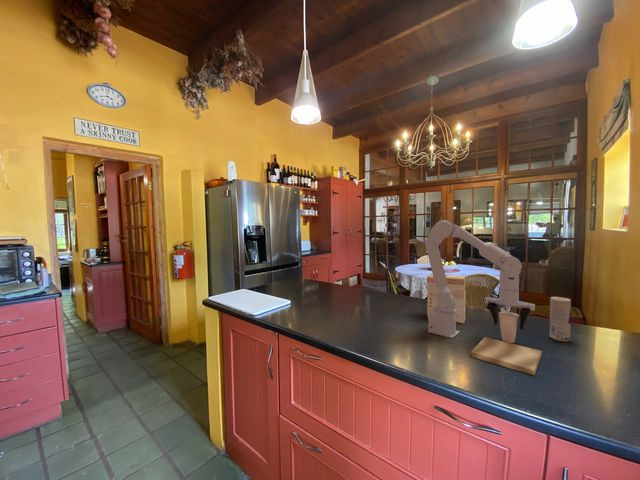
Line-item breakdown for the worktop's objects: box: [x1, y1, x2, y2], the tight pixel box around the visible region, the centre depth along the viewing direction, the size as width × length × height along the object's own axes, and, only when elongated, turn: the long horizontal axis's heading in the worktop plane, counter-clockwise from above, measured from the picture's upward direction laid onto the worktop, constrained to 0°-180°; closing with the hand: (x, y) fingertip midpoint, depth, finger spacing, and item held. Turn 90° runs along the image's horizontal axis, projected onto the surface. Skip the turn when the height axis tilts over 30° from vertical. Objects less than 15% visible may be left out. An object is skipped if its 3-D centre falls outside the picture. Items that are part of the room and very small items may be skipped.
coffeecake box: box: [426, 273, 466, 324], centre depth 120 cm, size 15×7×20 cm, turn 58°
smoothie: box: [498, 305, 521, 344], centre depth 96 cm, size 6×6×14 cm
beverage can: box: [549, 296, 572, 342], centre depth 97 cm, size 6×6×15 cm
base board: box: [470, 336, 543, 376], centre depth 85 cm, size 16×16×2 cm
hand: (508, 326), depth 96 cm, fingers open, 7 cm apart
